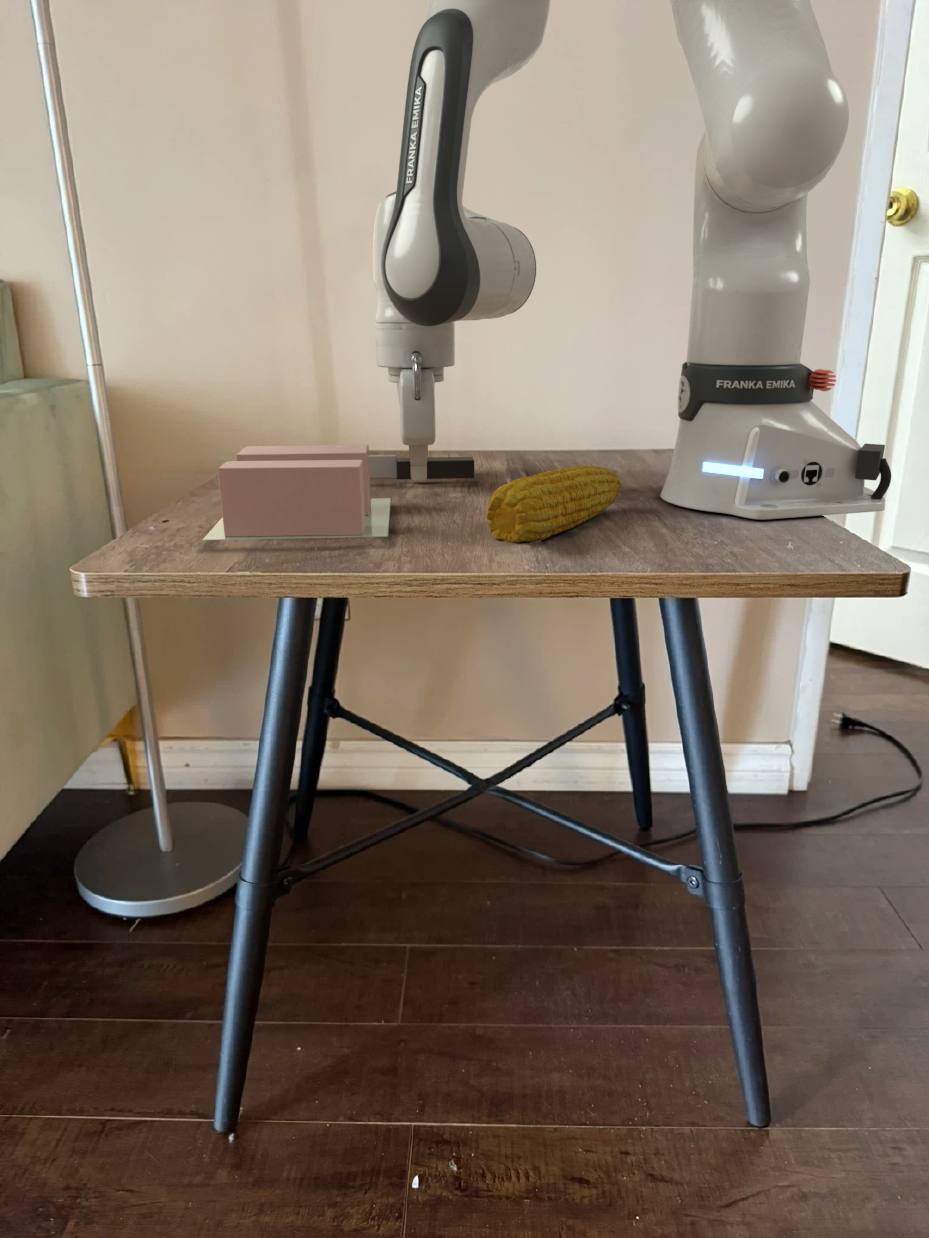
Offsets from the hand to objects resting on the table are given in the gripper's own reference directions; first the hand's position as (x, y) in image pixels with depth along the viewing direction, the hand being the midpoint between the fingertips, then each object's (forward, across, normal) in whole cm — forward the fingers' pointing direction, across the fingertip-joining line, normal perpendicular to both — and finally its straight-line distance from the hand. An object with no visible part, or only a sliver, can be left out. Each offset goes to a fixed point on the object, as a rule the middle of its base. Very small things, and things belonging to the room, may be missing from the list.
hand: (418, 473), depth 101 cm
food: (+2, -23, -13) cm, 26 cm away
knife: (+1, 0, +5) cm, 5 cm away
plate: (+1, -20, +11) cm, 23 cm away
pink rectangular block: (0, -18, +11) cm, 21 cm away
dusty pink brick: (0, -26, +11) cm, 28 cm away
